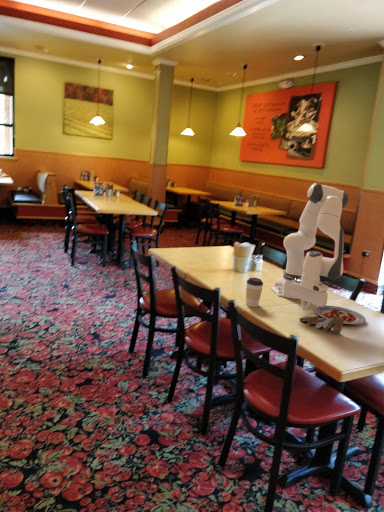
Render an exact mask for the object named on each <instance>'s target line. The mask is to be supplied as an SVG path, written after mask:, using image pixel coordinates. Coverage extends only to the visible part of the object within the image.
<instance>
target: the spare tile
mask: <svg viewBox="0 0 384 512" xmlns="http://www.w3.org/2000/svg"><path fill="white" fill-rule="evenodd" d="M332 319H334V318H331V319H327V320H325V321H323V322H321V323H316V324H315V329H320V328H322V327H326V326H327V325H328V323H329V322H330V321H331V320H332Z"/></svg>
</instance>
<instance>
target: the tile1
mask: <svg viewBox="0 0 384 512" xmlns="http://www.w3.org/2000/svg"><path fill="white" fill-rule="evenodd" d="M319 316H320V315H310V316H309V315H308V316H303V317H299V318H298V319H299V322H308V321H313V320H317V319H320V318H319Z"/></svg>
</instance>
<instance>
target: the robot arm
mask: <svg viewBox="0 0 384 512" xmlns="http://www.w3.org/2000/svg"><path fill="white" fill-rule="evenodd" d="M306 197H307V200H308V201H307V203H306V205H305V207H304V209H303V210H302V212H301V213H302V214H301V216H300V218H299V221H298V222H299V228H298V231H297V232H292V233H290V234H288V235H286V236H285V237H284V239H283V247H284V248H285V250H286V251H285V252H286V257H287V258H286V267H285V270H284V271H282V273H283V275H282V276H281V277H280V278H278V279H276V280H275V282H274V285H273V286H271V287H270V290H271V291H273V293H275V294H276V296H278V297H283V298H287V299H293V300H301V301H300V304H301V309H302V310H304V311H309V310H310V307H312V305H315V306H317V307H319V306H320V307H324V306H327V303H328V292H327V291H328V290H329V288H328V285H326V284H325V283H323V282H322V281H321V277H326V278H329V279H331V280H337V279H338V278H340V277H342V276H343V273H344V250H345V249H344V248H345V232H344V229H343V228H342V227H341V223H340V221H341V217H342V216H341V215H342V213H343V212H342V211H343V209H344V208H345V207H346V206H347V204H348V202H349V198H350V197H349V194H348V193H347V192H346V191H344V190H341V189H339V188H336V187H334V186H330V185H325V184H322V183H318V182H313V183H312V184H311V185H310V186H309V188H308V189H307V194H306ZM318 229H319V230H320V231H321V232H322V233H323V234H324V235H327V236H328V237H330V238H331V239H333V240H334V256H333V258H332V257H326V256H323V253H322V252H320V251H317V250H310V249H311V248H313V247H314V246H315V245H316V242H317V238H316V236H317V230H318ZM307 250H310V251H307ZM305 251H307V252H306V255H305ZM306 302H307V304H306Z"/></svg>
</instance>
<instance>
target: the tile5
mask: <svg viewBox="0 0 384 512" xmlns="http://www.w3.org/2000/svg"><path fill="white" fill-rule="evenodd" d="M343 322H344V318H342V317H341V318H338V319H336V321H335V324H334V327H333V328H332V332H331V335H332V336H337V335H340V334H341V332H342V328H343V325H344V324H343Z"/></svg>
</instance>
